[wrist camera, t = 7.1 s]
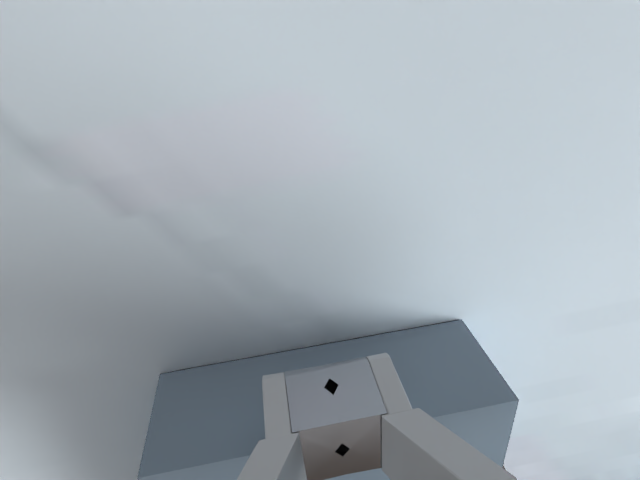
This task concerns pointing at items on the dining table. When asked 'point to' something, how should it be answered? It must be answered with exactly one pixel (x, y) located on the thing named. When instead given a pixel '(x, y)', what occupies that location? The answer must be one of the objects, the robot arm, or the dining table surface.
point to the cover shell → (246, 374)
